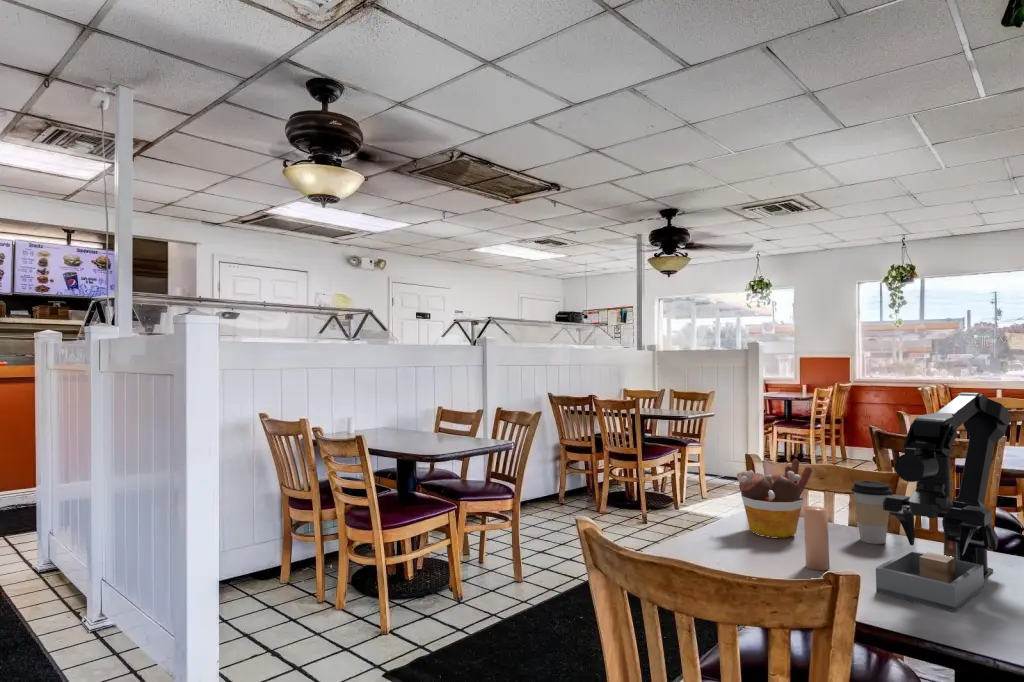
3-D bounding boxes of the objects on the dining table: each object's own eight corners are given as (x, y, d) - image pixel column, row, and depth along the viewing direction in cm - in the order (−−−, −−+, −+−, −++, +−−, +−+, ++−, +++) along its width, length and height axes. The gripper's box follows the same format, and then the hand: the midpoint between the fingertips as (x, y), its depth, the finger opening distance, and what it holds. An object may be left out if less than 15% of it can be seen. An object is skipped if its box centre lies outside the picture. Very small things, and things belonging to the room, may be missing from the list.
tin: (948, 544, 162) (947, 511, 163) (963, 546, 160) (962, 513, 161) (942, 559, 151) (941, 524, 151) (958, 562, 149) (957, 526, 149)
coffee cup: (870, 534, 172) (868, 479, 173) (902, 543, 164) (900, 485, 164) (844, 538, 169) (842, 482, 169) (875, 548, 160) (874, 488, 161)
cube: (928, 574, 138) (927, 551, 138) (955, 581, 134) (954, 557, 134) (920, 580, 135) (919, 556, 135) (947, 586, 131) (946, 562, 131)
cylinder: (812, 562, 150) (810, 505, 151) (833, 567, 146) (831, 508, 147) (801, 566, 147) (799, 508, 148) (823, 572, 143) (821, 512, 144)
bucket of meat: (764, 545, 164) (762, 468, 165) (724, 528, 180) (723, 458, 180) (825, 537, 170) (823, 463, 171) (782, 522, 186) (780, 454, 186)
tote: (909, 572, 143) (908, 549, 143) (983, 589, 132) (983, 565, 132) (876, 591, 131) (875, 567, 132) (955, 612, 121) (954, 586, 121)
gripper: (871, 475, 137) (873, 547, 137) (974, 488, 123) (977, 569, 122) (892, 469, 144) (893, 537, 144) (991, 481, 130) (994, 557, 129)
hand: (936, 549), depth 135 cm, fingers open, 9 cm apart
